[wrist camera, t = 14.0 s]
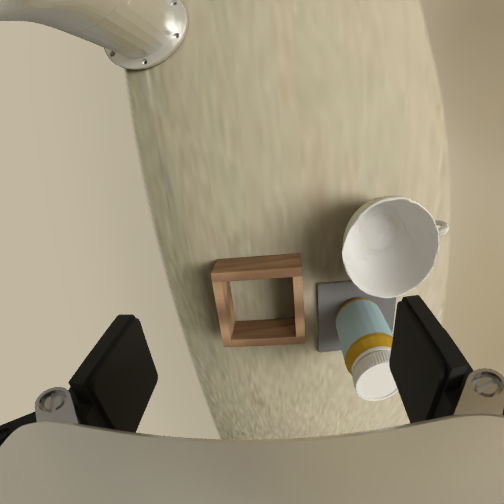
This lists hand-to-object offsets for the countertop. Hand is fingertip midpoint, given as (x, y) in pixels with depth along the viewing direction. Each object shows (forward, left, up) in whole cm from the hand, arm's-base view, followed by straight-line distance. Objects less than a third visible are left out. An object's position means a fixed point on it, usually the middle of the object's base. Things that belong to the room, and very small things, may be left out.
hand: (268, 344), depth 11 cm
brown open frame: (+14, -3, -33) cm, 36 cm away
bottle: (+19, +11, -32) cm, 39 cm away
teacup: (+6, +15, -33) cm, 36 cm away
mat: (+19, +11, -33) cm, 39 cm away
